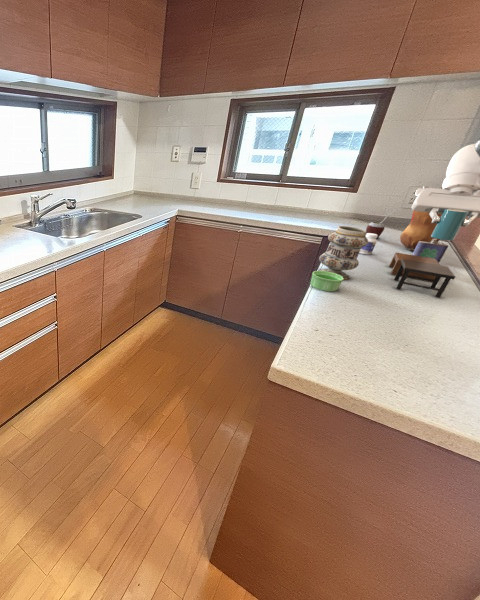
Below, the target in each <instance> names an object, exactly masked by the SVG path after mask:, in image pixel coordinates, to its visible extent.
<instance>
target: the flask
mask: <svg viewBox="0 0 480 600" xmlns="http://www.w3.org/2000/svg"><path fill="white" fill-rule="evenodd" d="M436 240H437V239H433V240H432V241H431V242H423V241H419V242H418V244H417V246H416V248H415V250H414V251H412V254H411V255H415V256H421V257H427V258H433V259H436V260H437V261H438V263H439V264H440V262H441V260H442V258H443V256H444V255H445V253H446V251H447V249H448V248H449V245H448V244H446V243H443V242H440V241H438V242H437V241H436Z"/></svg>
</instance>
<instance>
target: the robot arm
mask: <svg viewBox="0 0 480 600" xmlns="http://www.w3.org/2000/svg"><path fill="white" fill-rule="evenodd" d="M414 195H415V197H416V198H415V199H414V201H413V203H412V205H411V210H412V212H413V211H420V212H429V213H430V214H429V215H430V216H431V218H432V219H433V220H432V223H437V224H438V222H440V219H441V216H438V215H437V213H439V214H443V212H444V210H445V209H456V210H465V211H468V212H469V213H468V215H467V217H466V219H465V220H464V222H463V224H462V226H461V228H462V227H463V228H468V227H469V226H470V225H471V222H473V221H474V220H475V219H476V218H478V219H480V138H478V139H477V141H476V142H475V143H471V144H468V145H465V146H462V147H461V148H460V149H458V150H457V151H455V153H454V154H453V155H452V157H451V159H450V161H449V163H448V165H447V168H446V171H445V178H444V179H443V180H442V184H441V186H428V185H424V186H421V187H419V188H417V189H416V190H415V193H414Z"/></svg>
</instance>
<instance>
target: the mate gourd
mask: <svg viewBox="0 0 480 600" xmlns="http://www.w3.org/2000/svg"><path fill="white" fill-rule="evenodd" d="M396 213H397V211H394V212H391V213H389V214H387V215H386V216H385V217H384V219H383V220H381V222H378V221H371V222H370V223H369V224H368V225H366V228H365V231H366V234H367V233H373V234H377V235H378V236H377V238H376V240H378V239H380V238H379V237H380V236H381V235H382V233H383V232H384V231H385V224H384V222H385V220H387V218H389V217H390V216H391V215H393V214H396Z"/></svg>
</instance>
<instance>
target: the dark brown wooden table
mask: <svg viewBox="0 0 480 600" xmlns="http://www.w3.org/2000/svg"><path fill="white" fill-rule="evenodd" d="M401 263H402V264H401V266H400V268H399V270H398V272H397V274H396V275H394V276H395V277H394V279H393V281H394V282H395V281H396V282H398V281H399V282H398V283H397V286H396V287H395V289H396V290H398V291H399V290H401V289H402V288H403V286H404V285H407V286H412V287H416V288H423V289H428V290H432V291H436V292H437V293H436V294H435V298H438V299H441V297H442V295H443V294H444V292H445V290H446V288H447V287H448V285H449V283H450V281H451V280H454V279H455V278H456V275H455V274H454V273H453V272H452V270H451V269H450V267H449V266H447V265H441V264H440V265H436V264H430V263H424V262H418V261H412V260H406V259H402V260H401ZM403 270H404V271H405V272H404V274H402V272H403ZM409 272H415V273H421V274H426V275H432V276H436V278H435V280H433V279H427V278H422V277H417V276H411V275H408V274H409ZM408 277H411V278H410V279H413V278H416V279H415V280H418V279H422V280H421V281H424V280H427V281H426V282H429V281H432V282H431V285H430V286H427V285H423V284H418V283H411V282H407V281H406V280H407V278H408ZM441 278H443V279H444V280H443V282H442V283H441V285H440V287H439V288H438V287H437V285H438V284H439V282H440V280H441Z"/></svg>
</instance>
